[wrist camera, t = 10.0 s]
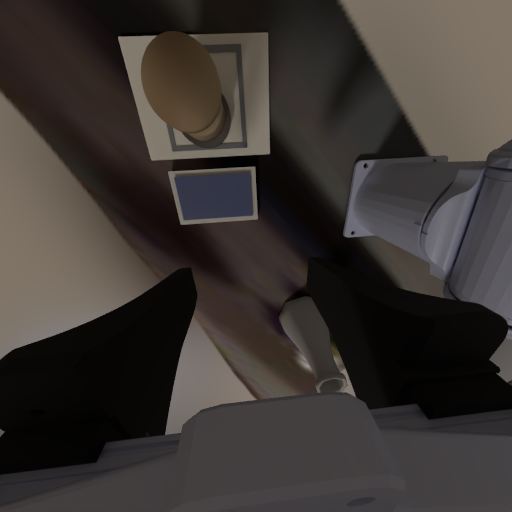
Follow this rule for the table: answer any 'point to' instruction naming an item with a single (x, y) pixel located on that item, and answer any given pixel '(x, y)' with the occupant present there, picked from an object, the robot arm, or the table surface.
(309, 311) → the flask
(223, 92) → the paper sheet
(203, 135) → the stamp
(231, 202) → the ink pad
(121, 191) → the table surface
